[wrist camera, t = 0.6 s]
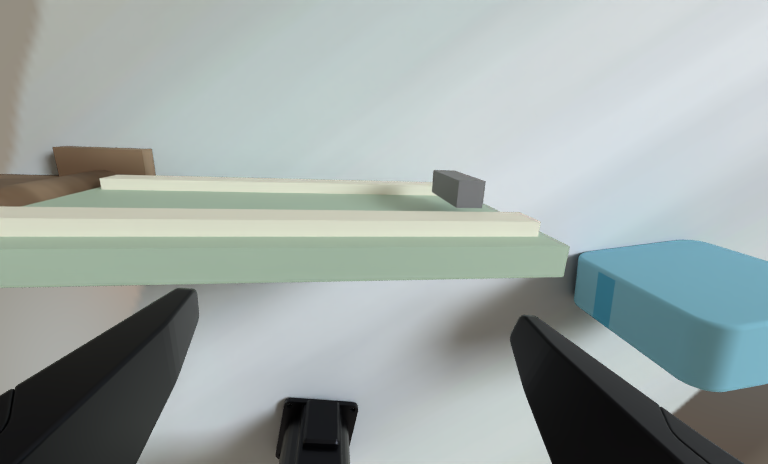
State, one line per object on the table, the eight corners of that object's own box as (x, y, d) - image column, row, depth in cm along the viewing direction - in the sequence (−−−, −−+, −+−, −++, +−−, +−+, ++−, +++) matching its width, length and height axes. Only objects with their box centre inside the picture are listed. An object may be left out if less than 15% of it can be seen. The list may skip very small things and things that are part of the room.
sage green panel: (450, 203, 25) (563, 277, 13) (130, 199, 22) (-139, 290, 9) (454, 162, 24) (580, 197, 12) (121, 151, 21) (-185, 183, 9)
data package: (565, 298, 31) (701, 398, 19) (569, 252, 29) (718, 330, 18) (682, 282, 32) (873, 366, 21) (691, 237, 31) (902, 300, 19)
